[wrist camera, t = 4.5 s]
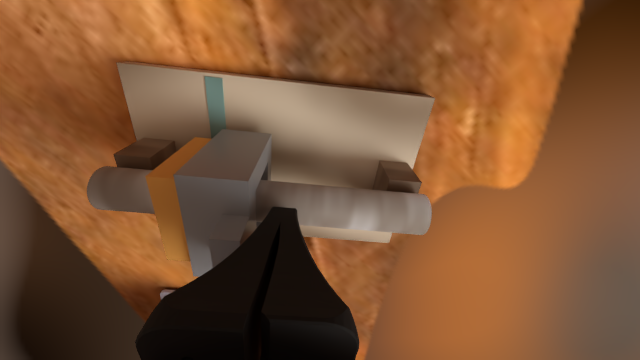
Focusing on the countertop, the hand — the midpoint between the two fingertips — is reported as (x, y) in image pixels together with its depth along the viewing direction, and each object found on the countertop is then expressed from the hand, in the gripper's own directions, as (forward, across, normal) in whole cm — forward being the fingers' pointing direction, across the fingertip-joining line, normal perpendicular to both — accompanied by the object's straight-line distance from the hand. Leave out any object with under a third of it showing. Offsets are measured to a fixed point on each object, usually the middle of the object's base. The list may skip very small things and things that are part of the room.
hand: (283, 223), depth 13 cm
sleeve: (+5, +3, 0) cm, 6 cm away
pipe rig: (+7, +1, 0) cm, 7 cm away
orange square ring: (+4, +5, 0) cm, 7 cm away
